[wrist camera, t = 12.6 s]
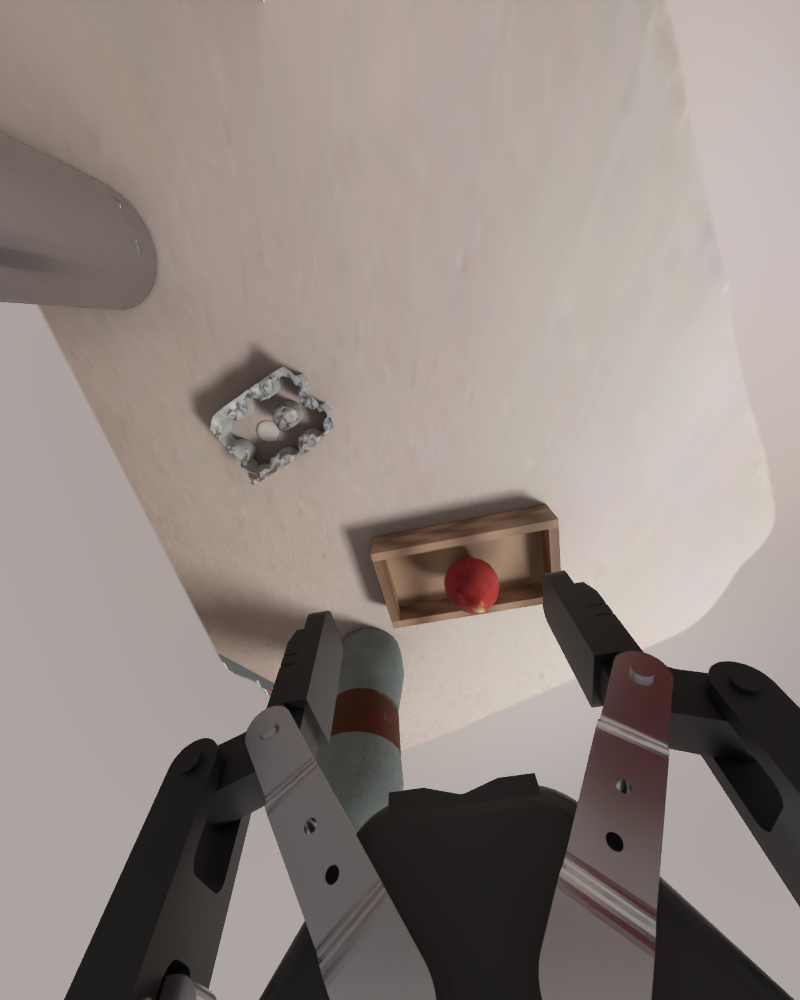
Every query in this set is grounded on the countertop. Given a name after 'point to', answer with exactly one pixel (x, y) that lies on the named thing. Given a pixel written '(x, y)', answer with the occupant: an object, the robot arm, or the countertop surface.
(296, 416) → the egg carton
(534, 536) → the wooden tray
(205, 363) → the countertop surface
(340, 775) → the bottle
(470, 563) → the onion
